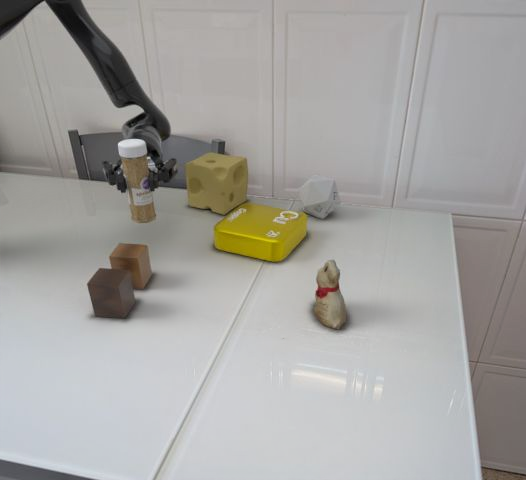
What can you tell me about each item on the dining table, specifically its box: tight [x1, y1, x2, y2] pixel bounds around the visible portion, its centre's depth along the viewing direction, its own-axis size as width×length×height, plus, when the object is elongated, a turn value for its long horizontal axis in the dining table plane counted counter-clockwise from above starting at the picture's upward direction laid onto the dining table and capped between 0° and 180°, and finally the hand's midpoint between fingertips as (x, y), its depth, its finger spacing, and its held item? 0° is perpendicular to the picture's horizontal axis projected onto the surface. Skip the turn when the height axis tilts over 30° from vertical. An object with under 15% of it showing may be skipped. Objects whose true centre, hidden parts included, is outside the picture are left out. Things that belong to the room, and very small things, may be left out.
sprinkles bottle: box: [117, 139, 157, 224], centre depth 86 cm, size 5×5×14 cm
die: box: [297, 173, 342, 220], centre depth 108 cm, size 8×9×10 cm
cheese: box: [184, 151, 249, 216], centre depth 112 cm, size 10×11×10 cm
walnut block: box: [86, 267, 136, 320], centre depth 79 cm, size 5×5×6 cm
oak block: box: [108, 242, 153, 290], centre depth 86 cm, size 5×5×6 cm
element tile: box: [213, 202, 308, 263], centre depth 99 cm, size 15×15×5 cm
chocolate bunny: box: [314, 259, 347, 330], centre depth 76 cm, size 6×8×10 cm
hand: (137, 186), depth 84 cm, fingers closed on sprinkles bottle, 4 cm apart
